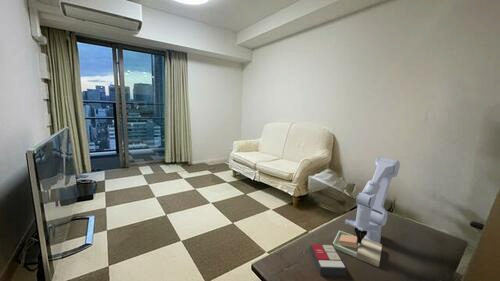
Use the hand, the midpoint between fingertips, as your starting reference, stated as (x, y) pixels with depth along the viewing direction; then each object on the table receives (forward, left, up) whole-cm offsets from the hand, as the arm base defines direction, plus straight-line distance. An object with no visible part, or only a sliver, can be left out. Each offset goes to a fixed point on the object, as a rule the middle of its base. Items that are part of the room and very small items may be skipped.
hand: (359, 242), depth 101 cm
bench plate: (0, +5, -4) cm, 6 cm away
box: (0, -5, -4) cm, 7 cm away
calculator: (+18, -10, -5) cm, 21 cm away
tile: (0, -4, -2) cm, 5 cm away
